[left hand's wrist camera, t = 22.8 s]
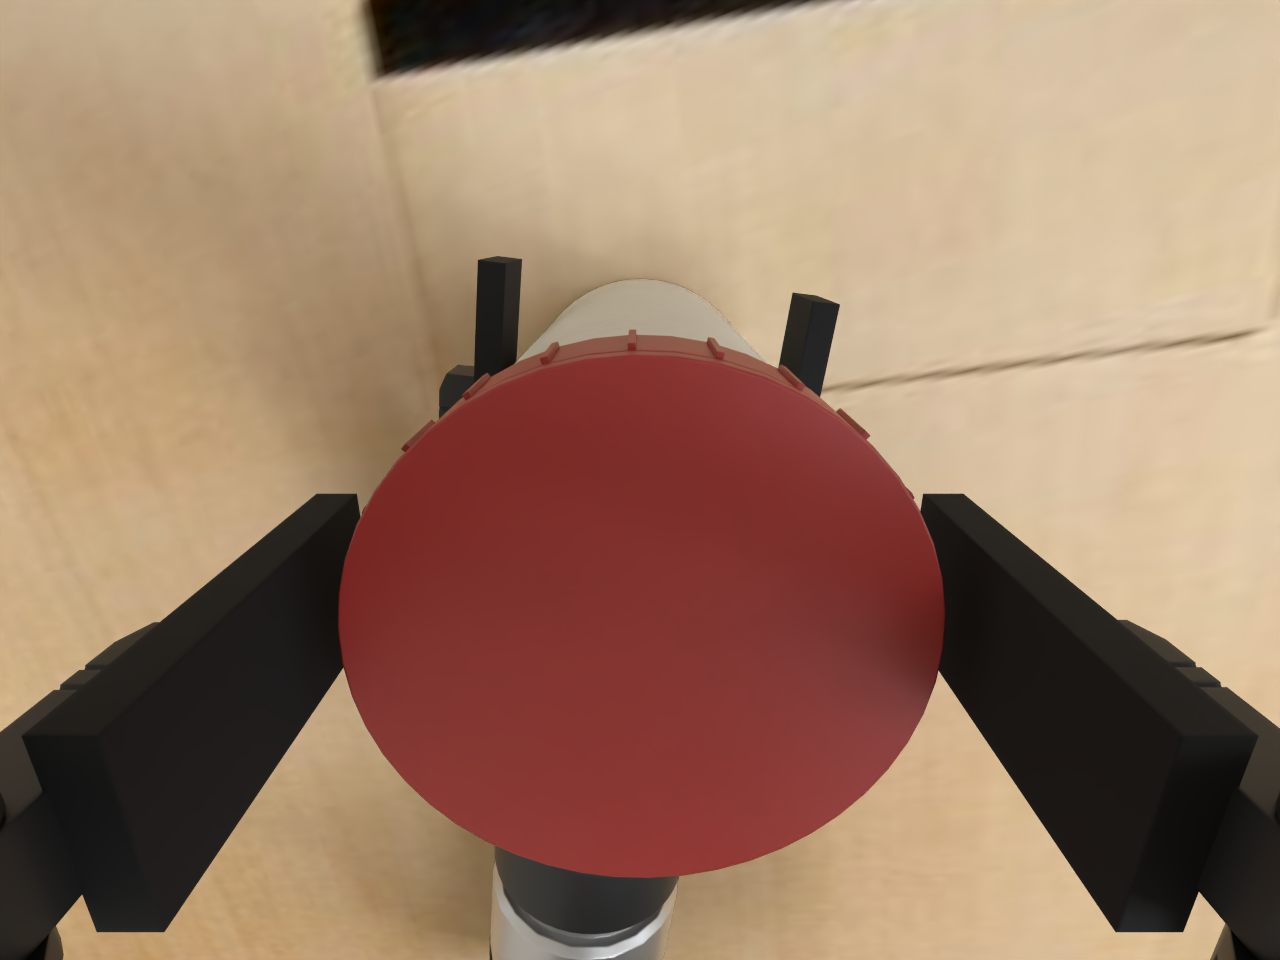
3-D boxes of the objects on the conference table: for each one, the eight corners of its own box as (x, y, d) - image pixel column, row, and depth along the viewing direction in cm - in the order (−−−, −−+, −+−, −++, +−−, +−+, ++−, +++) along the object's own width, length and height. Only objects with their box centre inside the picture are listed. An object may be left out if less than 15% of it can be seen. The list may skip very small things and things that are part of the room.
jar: (725, 254, 25) (874, 299, 9) (763, 465, 28) (928, 779, 12) (507, 308, 26) (291, 436, 10) (565, 508, 29) (472, 860, 13)
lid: (1000, 626, 12) (1060, 693, 10) (609, 866, 14) (605, 955, 12) (686, 198, 10) (697, 192, 8) (268, 560, 12) (202, 618, 10)
